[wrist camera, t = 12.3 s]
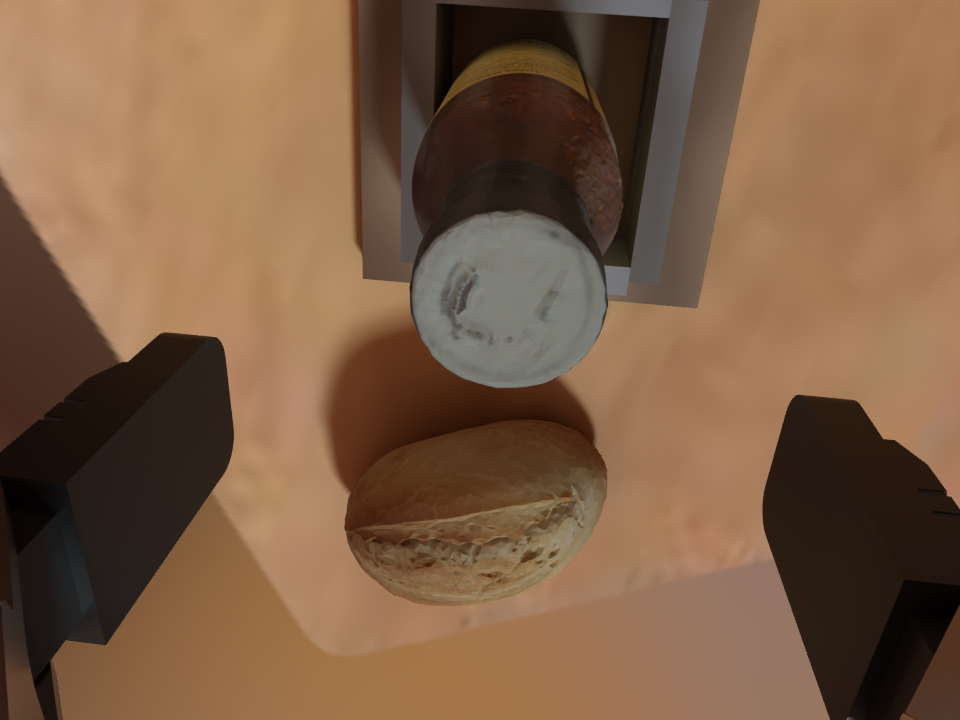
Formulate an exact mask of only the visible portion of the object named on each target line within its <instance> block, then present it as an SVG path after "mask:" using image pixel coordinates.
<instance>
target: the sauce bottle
mask: <svg viewBox="0 0 960 720" xmlns="http://www.w3.org/2000/svg"><path fill="white" fill-rule="evenodd" d="M622 188H623V185H622V178H621V173H620V169H619V165H618V157H617V151H616V146H615V143H614V140H613V137H612V134H611V131H610V129H609V126H608V124H607V121H606V118H605V116H604V113H603V111H602V109H601V106H600V104H599V101H598V99H597V96H596V94H595V91H594V89H593V86H592V84H591V82H590V80H589V78H588V76H587V74H586V72H585V71H581V70H580V67H579V65H578V63H577V62H576V61H575V60H574V59H573V58H572V57H571V56H570V55H569V54H567V53H566V52H564V51H563V50H561V49H560V48H558V47H555V46H553V45H551V44H549V43H546V42H543V41H539V40H535V39H525V38H520V39H511V40H509V41H506V42H502V43H499V44H496V45H494V46H491V47H489V48H487V49H485V50H483V51H482V52H481V53H479V54H478V55H477V56H476V57H474V58H473V59H472V60H470V61H469V62H468V63H467V64H466V65H465V67H464V68H463V69H462V71H461V72H460V73H459V75H458V76H457V78H456V80H455V81H454V83H453V85H452V86H451V88H450V90H449V92H448V93H447V95H446V97H445V99H444V101H443V102H442V104H441V106H440V107H439V109H438V111H437V112H436V114H435V116H434V118H433V119H432V121H431V123H430V125H429V127H428V129H427V130H426V132H425V134H424V137H423V139H422V141H421V144H420V147H419V150H418V152H417V156H416V160H415V163H414V169H413V176H412V201H413V209H414V213H415V217H416V221H417V224H418V227H419V229H420V231H421V234H422V236H423V239H422V241H421V243H420V245H419V248H418V251H417V255H416V258H415V262H414V265H413V270H412V278H411V283H410V307H411V315H412V318H413V321H414V323H415V326H416V329H417V331H418V333H419V335H420V338H421V339H422V341H423V342H424V343H425V345H426V346H427V348H428V350H429V351H430V353H431V355H432V356H433V357H434V358H435V359H436V360H437V361H439V362H440V363H441V364H442V365H443V366H444V367H445V368H446V369H448V370H449V371H451V372H453V373H454V374H456V375H458V376H460V377H461V378H463V379H466V380H470V381H473V382H475V383H478V384H483V385H487V386H490V387H493V388H519V387H528V386H533V385H538V384H542V383H545V382H548V381H550V380H552V379H554V378H555V377H557V376H560V375H562V374H565V373H566V372H568V371H569V370H571V369H572V368H573V366H575V365H576V364H578V363H579V362H580V361H581V360H582V359H583V358H584V357H585V356H586V355H587V354H588V352H589V351H590V349H591V347H592V346H593V344H594V343H595V341H596V339H597V338H598V336H599V334H600V332H601V329H602V326H603V323H604V320H605V316H606V312H607V308H608V299H607V283H606V273H605V267H604V261H603V254H604V253H605V251H606V250H607V248H608V247H609V245H610V244H611V242H612V240H613V239H614V235H615V233H616V232H617V227H618V225H619V221H620V217H621V211H622V208H623V200H622Z"/></svg>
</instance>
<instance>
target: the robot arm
mask: <svg viewBox="0 0 960 720" xmlns="http://www.w3.org/2000/svg"><path fill="white" fill-rule="evenodd" d="M233 441H234V429H233V420H232V411H231V402H230V393H229V385H228V376H227V367H226V358H225V352H224V348H223V345H222V343H221V342H220V340H219V339H218V338H216V337H209V336H198V335H188V334H178V333H167V332H164V333H161V334H160V335H158V336H157V337H156V338H155V339H154V340H152V341H151V342H150V343H149V344H148V345H147V346H146V347H144V348H143V349H142V350H141V351H140V352H139V353H138V354H137V355H135V356H134V357H133V358H132V359H131V360H130V361H129V362H122V363H120V364H117V365H115V366H113V367H111V368H109V369H107V370H105V371H102V372H100V373H98V374H96V375H94V376H92V377H90V378H88V379H87V380H85V381H84V382H83V383H82V384H81V385H79V386H78V387H77V388H76V389H75V390H73V391H72V392H71V393H70V394H69V395H68V396H66V397H65V400H64V403H63V402H62V403H61V402H59V403H58V404H57V405H56V406H54V407H53V408H52V409H51V410H50V411H49V412H47V413H46V414H45V416H44V420H40V419H39V420H38V421H37V422H35V423H34V424H33V425H32V426H31V427H30V428H28V429H27V430H26V431H25V432H24V433H22V434H21V435H20V436H19V437H18V438H17V439H16V440H14V441H13V442H12V443H11V444H10V445H8V446H7V447H6V448H5V449H3V450H2V451H1V452H0V720H63V716H62V708H61V701H60V695H59V687H58V680H57V674H56V671H55V667H54V663H53V660H52V658H53V656H54V655H55V653H56V652H57V651H58V650H59V648H60V647H61V646H62V644H63V643H64V642H65V640H69V641H78V642H85V643H93V644H101V645H106V644H107V643H108V641H109V640H110V638H111V637H112V635H113V634H114V632H115V631H116V629H117V628H118V627H119V625H120V624H121V622H122V621H123V619H124V618H125V616H126V615H127V614H128V612H129V611H130V609H131V608H132V606H133V605H134V603H135V602H136V600H137V599H138V598H139V596H140V595H141V593H142V592H143V590H144V589H145V587H146V586H147V584H148V583H149V582H150V580H151V579H152V577H153V576H154V574H155V573H156V571H157V570H158V569H159V567H160V566H161V564H162V563H163V561H164V560H165V558H166V557H167V556H168V554H169V553H170V551H171V550H172V548H173V547H174V545H175V544H176V542H177V541H178V540H179V538H180V537H181V535H182V534H183V532H184V531H185V529H186V528H187V526H188V525H189V524H190V522H191V521H192V519H193V518H194V516H195V515H196V513H197V512H198V511H199V509H200V508H201V506H202V505H203V503H204V502H205V500H206V499H207V497H208V496H209V495H210V493H211V492H212V490H213V489H214V487H215V486H216V484H217V483H218V481H219V480H220V479H221V477H222V476H223V474H224V473H225V471H226V469H227V467H228V464H229V461H230V458H231V454H232V449H233ZM763 525H764V531H765V534H766V537H767V540H768V543H769V546H770V549H771V552H772V554H773V557H774V560H775V563H776V566H777V569H778V572H779V574H780V577H781V580H782V583H783V586H784V589H785V592H786V595H787V597H788V600H789V603H790V606H791V608H792V612H793V615H794V617H795V620H796V623H797V626H798V629H799V632H800V635H801V637H802V640H803V643H804V646H805V649H806V652H807V655H808V658H809V660H810V663H811V666H812V669H813V672H814V675H815V678H816V680H817V683H818V686H819V689H820V692H821V695H822V697H823V701H824V703H825V706H826V709H827V712H828V715H829V718H830V720H960V509H959V507H958V506H957V505H956V503H955V502H954V500H953V499H952V498H951V497H948V496H947V491H946V489H945V488H944V487H943V485H942V484H941V483H940V481H939V480H938V478H937V477H936V476H935V474H934V473H933V472H932V470H931V469H930V467H929V466H928V465H927V464H926V463H925V462H923V461H922V460H921V459H919V458H918V457H917V456H915V455H914V454H912V453H911V452H910V451H908V450H907V449H906V448H904V447H903V446H902V445H900V444H899V443H898V442H896V441H895V440H886V439H883V438H882V437H881V435H880V434H879V432H878V431H877V429H876V428H875V426H874V425H873V423H872V422H871V420H870V419H869V417H868V416H867V414H866V413H865V411H864V410H863V408H862V407H861V405H860V404H859V403H858V402H857V401H855V400H847V399H837V398H827V397H816V396H806V395H796V396H795V397H794V398H793V399H792V400H791V402H790V404H789V406H788V408H787V411H786V415H785V418H784V422H783V425H782V429H781V433H780V436H779V440H778V443H777V447H776V450H775V454H774V457H773V461H772V465H771V468H770V472H769V475H768V479H767V482H766V486H765V490H764V496H763Z"/></svg>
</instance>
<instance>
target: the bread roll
mask: <svg viewBox="0 0 960 720" xmlns="http://www.w3.org/2000/svg"><path fill="white" fill-rule="evenodd" d="M601 456H602V455H600V454H599V452H598V450H597V449H596V448H595V447H594V446H593V445H592V444H591V443H590V442H589V441H588V440H587V439H586V438H585V437H584V436H583V435H582V434H581V433H579V432H578V431H577V430H574V429H572V428H570V427H567V426H564V425H561V424H558V423H555V422H549V421H543V420H531V419H523V420H507V421H499V422H494V423H491V424H487V425H483V426H479V427H474V428H468V429H463V430H459V431H456V432H452V433H448V434H445V435H440V436H436V437H434V438H429V439H426V440H422V441H418V442H415V443H411V444H408V445H404V446H402V447H399V448H397V449H395V450H393V451H391V452H389V453H388V454H386V455H385V456H383V457H382V458H381V459H380V460H378V461H377V462H376V463H375V464H373V465H372V466H371V467H370V468H369V469H368V470H367V471H366V473H365V474H364V475H363V476H362V477H361V479H360V480H359V481H358V482H357V484H356V485H355V486H354V487H353V490H352V492H351V494H350V496H349V499H348V505H347V513H346V517H345V527H344V528H345V531H346V535H347V541H348V544H349V546H350V549H351V551H352V553H353V555H354V556H355V558H356V560H357V561H358V563H359V565H360V566H361V568H362V569H363V570H364V571H365V572H366V573H367V574H368V575H369V576H370V577H371V578H373V579H374V580H376V581H377V582H378V583H379V584H380V585H381V586H383V587H384V588H385V589H386V590H388V591H389V592H390V593H392V594H393V595H396V596H399V597H402V598H405V599H407V600H409V601H412V602H415V603H419V604H424V605H430V606H457V605H474V604H483V603H490V602H495V601H499V600H502V599H505V598H509V597H513V596H515V595H517V594H520V593H522V592H525V591H527V590H529V589H531V588H533V587H535V586H537V585H539V584H540V583H542V582H544V581H546V580H548V579H550V578H551V577H553V576H554V575H556V574H557V573H558V572H560V571H561V570H562V569H563V568H564V567H565V566H566V565H567V564H568V563H569V562H570V561H571V560H572V559H573V558H574V556H575V555H576V554H577V553H578V552H579V551H580V550H581V548H582V547H583V546H584V544H585V543H586V541H587V540H588V538H589V537H590V535H591V533H592V531H593V529H594V527H595V525H596V523H597V521H598V519H599V516H600V514H601V511H602V508H603V505H604V501H605V499H606V496H607V468H606V465H605V462H604V460H603V459H602V457H601Z"/></svg>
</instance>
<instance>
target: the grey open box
mask: <svg viewBox="0 0 960 720" xmlns="http://www.w3.org/2000/svg"><path fill="white" fill-rule="evenodd" d="M759 2H760V0H358V34H359V89H360V144H361V199H362V254H363V279H373V280H384V281H395V282H407V283H411V278H412V270H413V265H414V262H415V258H416V255H417V251H418V248H419V245H420V243H421V241H422V239H423V236H422V234H421V231H420V229H419V227H418V224H417V221H416V217H415V213H414V209H413V201H412V176H413V169H414V163H415V160H416V156H417V152H418V150H419V147H420V144H421V141H422V139H423V137H424V134H425V132H426V130H427V129H428V127H429V125H430V123H431V121H432V119H433V118H434V116H435V114H436V112H437V111H438V109H439V107H440V106H441V104H442V102H443V101H444V99H445V97H446V95H447V93H448V92H449V90H450V88H451V86H452V85H453V83H454V81H455V80H456V78H457V76H458V75H459V73H460V72H461V71H462V69H463V68H464V67H465V65H466V64H467V63H468V62H469V61H470V60H472V59H473V58H474V57H476V56H477V55H478V54H479V53H481V52H482V51H483V50H485V49H487V48H489V47H491V46H494V45H496V44H499V43H502V42H506V41H509V40H511V39H520V38H525V39H535V40H539V41H543V42H546V43H549V44H551V45H553V46H555V47H558V48H560V49H561V50H563V51H564V52H566V53H567V54H569V55H570V56H571V57H572V58H573V59H574V60H575V61H576V62H577V63H578V65H579V67H580V70H581V71H585V72H586V74H587V76H588V78H589V80H590V82H591V84H592V86H593V89H594V91H595V94H596V96H597V99H598V101H599V104H600V106H601V109H602V111H603V113H604V116H605V118H606V121H607V124H608V126H609V129H610V131H611V134H612V137H613V140H614V143H615V146H616V151H617V157H618V165H619V169H620V173H621V178H622V185H623V188H622V200H623V208H622V211H621V217H620V221H619V225H618V227H617V232H616V233H615V235H614V239H613V240H612V242H611V244H610V245H609V247H608V248H607V250H606V251H605V253H604V254H603V261H604V267H605V273H606V283H607V299H608V300H610V301H621V302H632V303H644V304H655V305H666V306H678V307H689V308H697V307H698V302H699V297H700V292H701V287H702V282H703V277H704V272H705V267H706V262H707V257H708V253H709V248H710V243H711V238H712V233H713V228H714V223H715V218H716V213H717V208H718V203H719V199H720V194H721V189H722V184H723V179H724V174H725V169H726V164H727V159H728V154H729V149H730V144H731V140H732V135H733V130H734V125H735V120H736V115H737V110H738V105H739V100H740V95H741V90H742V86H743V81H744V76H745V71H746V66H747V61H748V56H749V51H750V46H751V41H752V36H753V32H754V27H755V22H756V17H757V12H758V7H759Z"/></svg>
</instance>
